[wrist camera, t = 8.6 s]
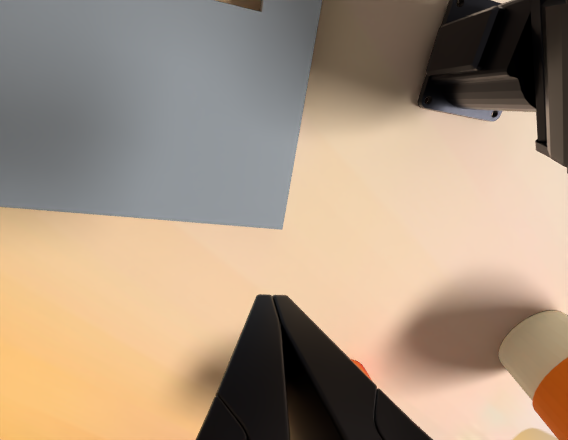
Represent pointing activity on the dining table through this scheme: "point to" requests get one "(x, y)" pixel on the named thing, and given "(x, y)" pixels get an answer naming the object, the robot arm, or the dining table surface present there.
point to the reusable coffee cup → (541, 365)
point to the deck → (153, 107)
